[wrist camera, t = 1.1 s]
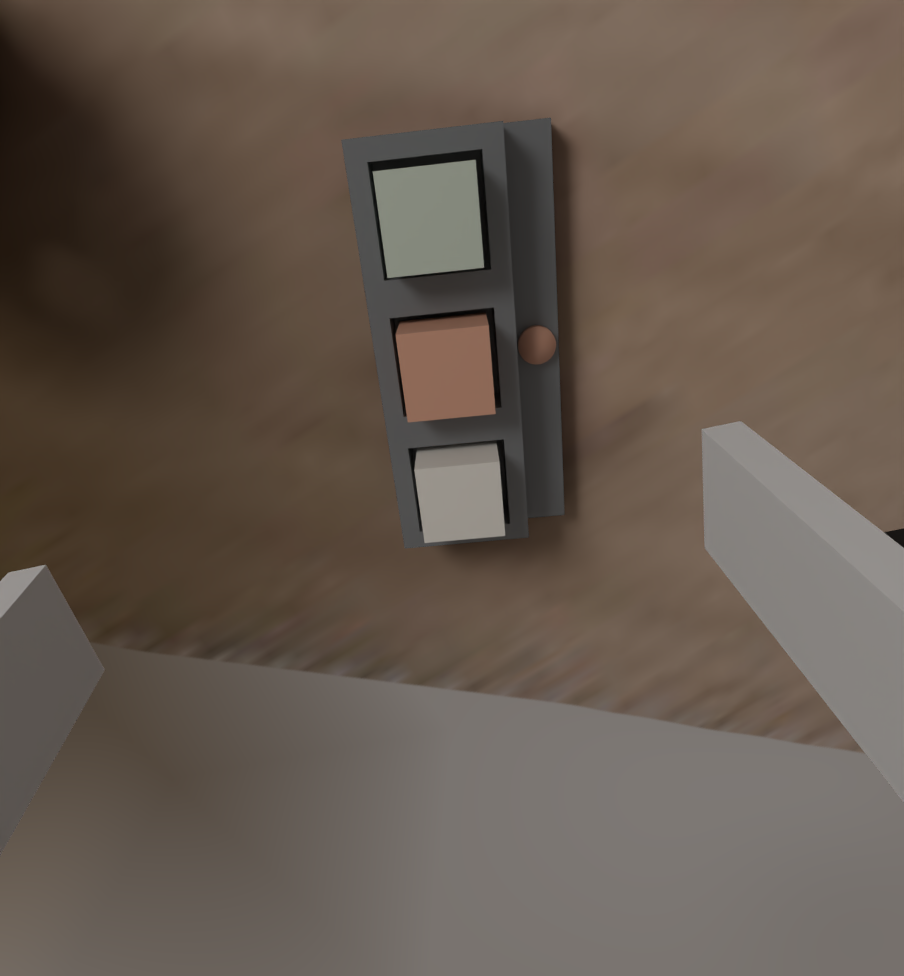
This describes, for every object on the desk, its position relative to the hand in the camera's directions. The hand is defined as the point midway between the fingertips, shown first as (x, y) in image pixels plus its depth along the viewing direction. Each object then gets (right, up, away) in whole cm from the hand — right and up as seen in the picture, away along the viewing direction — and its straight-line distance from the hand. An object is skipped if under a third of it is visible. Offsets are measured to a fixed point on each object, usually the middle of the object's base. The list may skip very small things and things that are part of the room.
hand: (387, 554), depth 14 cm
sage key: (0, +14, +19) cm, 24 cm away
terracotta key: (+1, +8, +22) cm, 23 cm away
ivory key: (+2, +2, +25) cm, 25 cm away
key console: (+2, +9, +24) cm, 26 cm away
